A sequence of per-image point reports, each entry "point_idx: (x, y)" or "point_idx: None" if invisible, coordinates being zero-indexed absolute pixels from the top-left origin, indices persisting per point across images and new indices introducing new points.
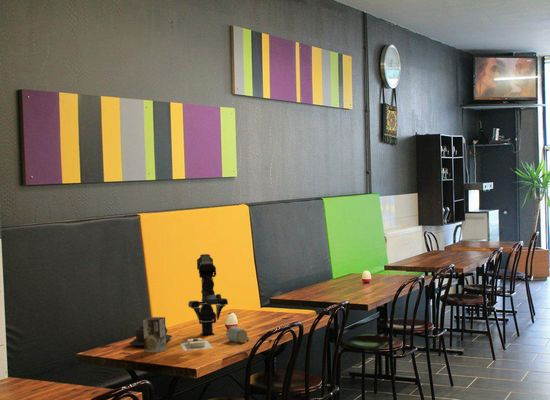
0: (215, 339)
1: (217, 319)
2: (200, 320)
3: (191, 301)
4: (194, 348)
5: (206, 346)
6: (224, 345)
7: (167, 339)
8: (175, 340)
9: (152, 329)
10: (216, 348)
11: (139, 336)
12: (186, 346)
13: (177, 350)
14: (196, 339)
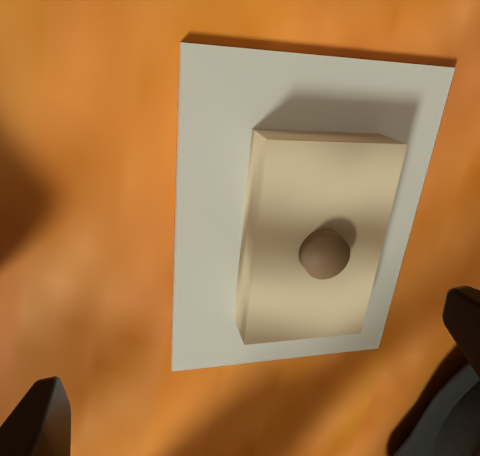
0: (89, 415)
1: (61, 384)
2: (467, 292)
3: None
4: (351, 117)
5: (229, 154)
6: (27, 167)
7: (446, 396)
8: (358, 438)
9: None
10: (138, 59)
11: None
12: None
13: (466, 149)
14: (328, 237)
